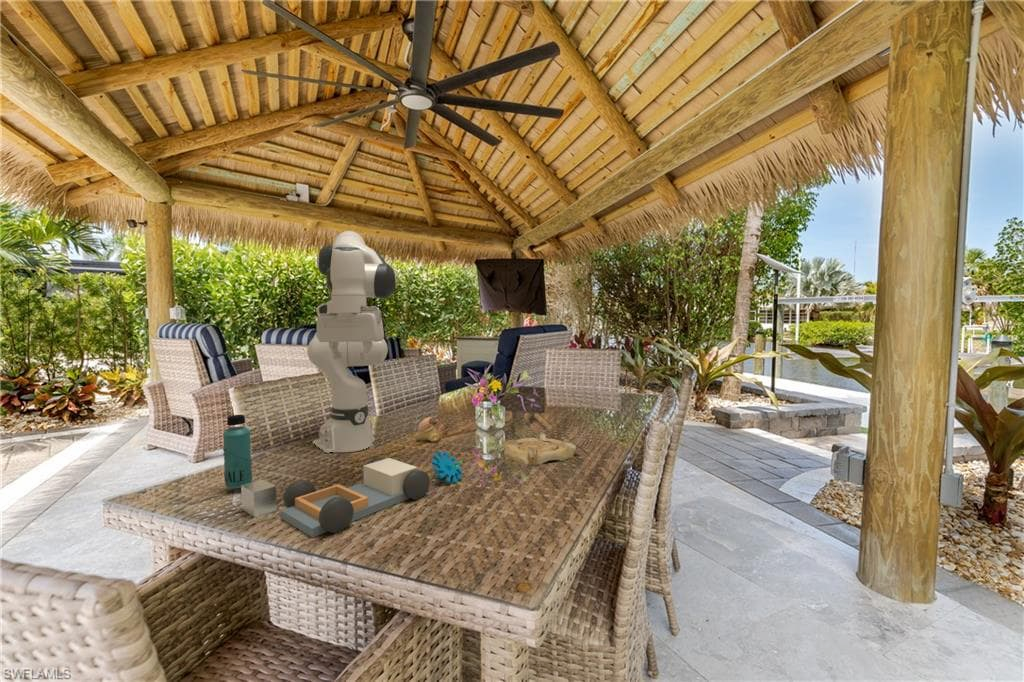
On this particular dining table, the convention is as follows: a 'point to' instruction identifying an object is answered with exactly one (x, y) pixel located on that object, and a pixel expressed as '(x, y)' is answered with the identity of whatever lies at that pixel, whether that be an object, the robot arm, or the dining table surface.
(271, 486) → the block
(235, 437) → the beverage bottle
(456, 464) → the gear
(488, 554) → the dining table surface
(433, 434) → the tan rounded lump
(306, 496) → the chassis
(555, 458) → the ashtray
